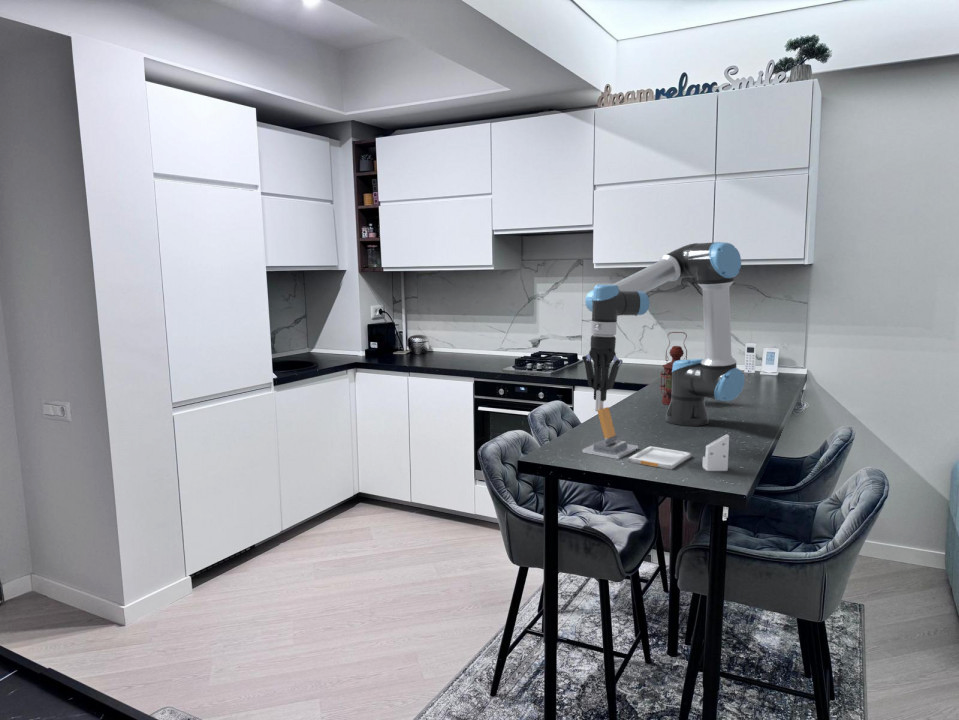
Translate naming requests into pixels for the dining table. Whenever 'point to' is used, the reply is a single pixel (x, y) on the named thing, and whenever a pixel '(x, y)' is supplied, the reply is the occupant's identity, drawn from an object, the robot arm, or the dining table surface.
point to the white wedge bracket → (717, 455)
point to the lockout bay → (660, 457)
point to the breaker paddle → (607, 425)
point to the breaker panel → (610, 449)
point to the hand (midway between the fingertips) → (599, 410)
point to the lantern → (670, 370)
